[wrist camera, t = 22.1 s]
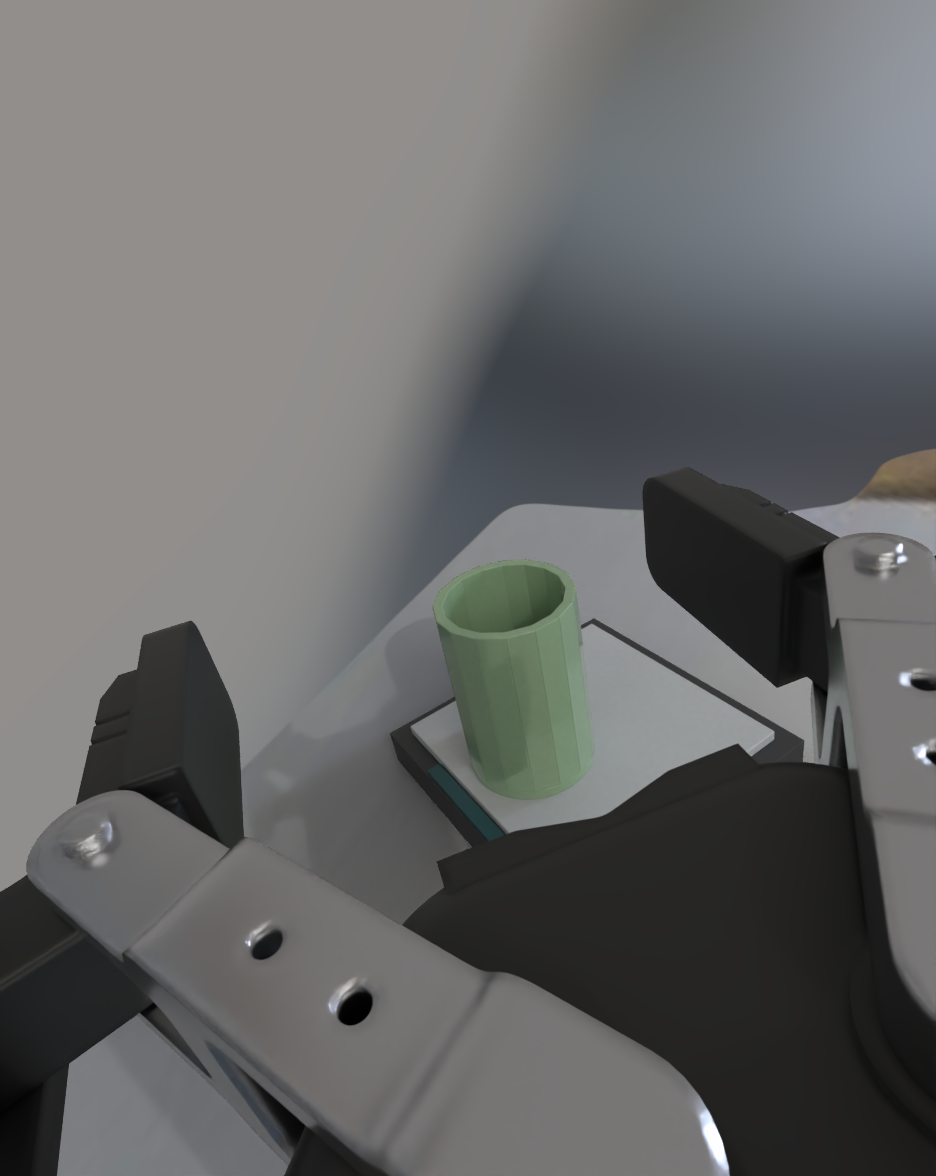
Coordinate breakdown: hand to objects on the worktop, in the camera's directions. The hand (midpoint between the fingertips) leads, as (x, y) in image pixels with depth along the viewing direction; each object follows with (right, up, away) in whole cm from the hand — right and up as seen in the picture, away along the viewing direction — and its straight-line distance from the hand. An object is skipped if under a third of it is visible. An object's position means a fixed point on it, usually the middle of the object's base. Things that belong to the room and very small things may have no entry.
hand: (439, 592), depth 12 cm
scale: (+7, -10, +28) cm, 31 cm away
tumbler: (+4, -9, +26) cm, 27 cm away
